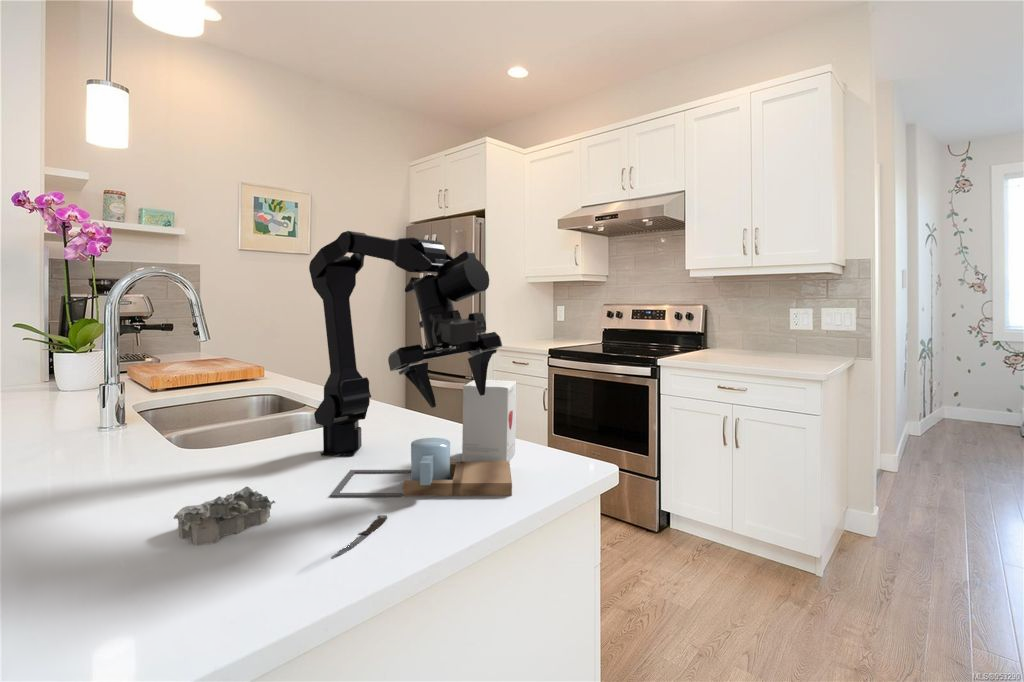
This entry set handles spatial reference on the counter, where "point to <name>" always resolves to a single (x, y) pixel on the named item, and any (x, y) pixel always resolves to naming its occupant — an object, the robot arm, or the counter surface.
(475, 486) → the cradle
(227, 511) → the egg carton
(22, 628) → the counter surface
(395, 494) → the frame
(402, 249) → the robot arm
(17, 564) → the counter surface
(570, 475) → the counter surface
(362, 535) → the knife
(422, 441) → the jug
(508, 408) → the supplement box
